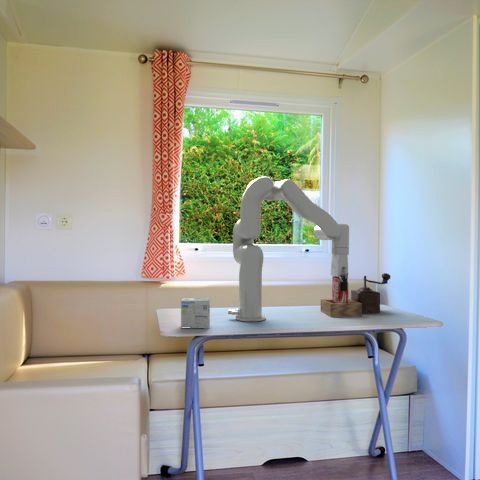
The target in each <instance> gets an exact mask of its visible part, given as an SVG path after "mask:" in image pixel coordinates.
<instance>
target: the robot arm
mask: <svg viewBox="0 0 480 480" xmlns="http://www.w3.org/2000/svg"><path fill="white" fill-rule="evenodd" d="M241 197H242V198H241V202H240V213H239V215H240V216H239V217H240V218H239V219H238V220H237V221H236V222H235V224H234V226H233V230H232V253H233V254H232V255H233V259H234V260H235V261H236V263H237V264H239V272H238V273H239V274H238V287H239V289H238V291H239V292H238V293H239V294H238V298H239V299H238V301H239V302H238V303H239V304H238V305H239V306H237V308H236V309H227V314H228V315H233V316H234V315H235V320H236V321H239V322H240V321H241V322H250V323H251V322H253V323H254V322H261V321H265V320H266V315H264V314H262V313H263V312H262V311H263V303H262V302H263V297H262V296H263V281H262V279H263V277H262V276H263V266H264V252H263V250H262V247H260V246H259V245H258V244H256V243H254V240H256V239H258V238H259V237H260V235H261V231H262V225H261V224H262V223H261V220H262V219H261V218H262V216H261V215H262V214H261V211H262V204H263V201H275V202H276V201H284V202H285V203H286V204H287V205H288V206H289V207H290V209H291V210H292V211H293V212H294V213H295V215H297V217H300V218H302V219H304V220H307V221H309V222H311V223H312V224H315V225H316V226H314V228H313V235H314V237H315V238H316V239H318V240H319V241H321V240H322V241H331V255H332V256H331V261H330V262H331V264H330V275H331V276H332V278H331V279H332V282H333V280H334V278H340V280H341V282H340V291H347V282H348V283H349V281H348V280H349V257H348V256H349V255H350V253H349V251H350V226H349V225H348V224H346V223H338V222H337V221H336V220H335V219H334V217H333V216H332V215H331V214H329V212H327V211H326V210H325V209H323V208H322V207H320V206H318V205H317V204H316V203H314V202H313V201H312V200H311V199H310V198H309V196H308V195H306V194H305V193H304V191H303V189H301V188H300V186H298V184H297V183H296V182H295V181H293V180H292V179H289V178H287V179H283V180H280V181H273V179H272V178H271V177H269V176H260V177H258V178H255V179H254V180H251V181H250V182H249V183H248V184H247V187H246V189H245V190H244V192H243V194H242V196H241ZM342 278H343V279H342ZM332 282H331V283H332Z"/></svg>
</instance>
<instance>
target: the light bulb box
mask: <svg viewBox="0 0 480 480" xmlns="http://www.w3.org/2000/svg"><path fill="white" fill-rule="evenodd" d="M210 305H211V304H210V297H202V298H201V297H200V298H199V297H196V298H194V297H193V298H191V297H190V298H188V297H187V298H184V297H183V298H182V299H181V300H180V328H181V327H190V328H204V329H209V328H210V324H211V323H210V321H211V318H210V317H211V316H210V315H211V314H210V313H211V312H210V311H211V310H210V309H211V307H210Z"/></svg>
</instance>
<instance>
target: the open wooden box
mask: <svg viewBox="0 0 480 480" xmlns="http://www.w3.org/2000/svg"><path fill="white" fill-rule="evenodd" d="M320 312H321V313H323V314H325V315H326V316H328V317H330V318H335V317H336V318H341V317H340V316H346V317H362V316H363V313H362V303H359V302H356V301H354V300H351V298H348V303H333V301H332V298H331V299H330V298H328V299H326V298H325V299H323V298H322V299H320Z"/></svg>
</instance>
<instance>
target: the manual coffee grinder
mask: <svg viewBox="0 0 480 480" xmlns="http://www.w3.org/2000/svg"><path fill="white" fill-rule="evenodd" d="M381 278H382V280H381V282H379V281H374V280H368V279H367V276H366V275H364V276H363V287H360V288H358V289H355V290H354V289H353V290H350V299H351V300H354V301H356V302H359V303H362V314H380V313H381V292H380V291H377V290H373V288H370V287H368V286H367V282H368V283H374V284H378V285H386V284H389V283H388V281H389V280H390V279H391V275H390V274H389V273H385V272H384V273H382V274H381Z"/></svg>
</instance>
